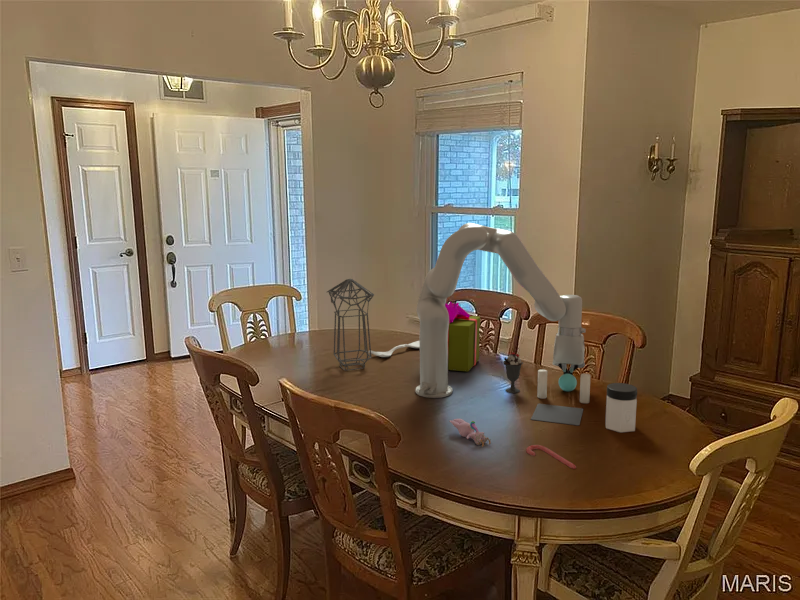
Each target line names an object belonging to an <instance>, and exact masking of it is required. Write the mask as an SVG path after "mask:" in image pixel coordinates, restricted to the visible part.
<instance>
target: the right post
mask: <svg viewBox="0 0 800 600" xmlns="http://www.w3.org/2000/svg"><path fill="white" fill-rule="evenodd" d="M579 380H580V381H579V382H580V383H579V385H580V386H579V403H581V404H589V403H590V397H591V395H590V393H591V392H590V391H591V374H589V373H580V379H579Z"/></svg>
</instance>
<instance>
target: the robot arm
mask: <svg viewBox="0 0 800 600" xmlns="http://www.w3.org/2000/svg"><path fill="white" fill-rule="evenodd" d="M474 251H481V252H482V251H483V252H488V253H492V254H493V253H494V254H498V255H499V257H500V259H501V261H502V262H503V263H504V265H505V266H506V268H507V269H508V270H509V272H510V273H511V275H512V277H513V278H514V279H515V281H516V282H517V283H518V284H519V285H520V286H521V287H522V288H523V289H524V290H525V291H526V292H527V293H528V294H529V295H530V296H531V297H532V298H533V300H534V304H533V305H534V306H533V307H534V309H535V311H536V312H537V314H539V315H540V316H542V317H544V318H546V320H548V321H550V322H557V321H558V326H557V327H558V330H557V333H556V334H555V337H554V342H553V343H554V345H553V355H552V356H553V359H552V365H553V366H556V367H558V368H560V370H561V371H562V372H563V374H571V375H573V376H574V372H575V371H576V370H577V369H582V368H585V364H586V363H585V336H584V334H583V333H586V328H584V327H582V318H583V317H582V316H583V315H582V314H583V298H582V297H581V296H579V295H577V294H563V295H561V294H559V293H558V290H557V289H556V288H555V286H554V285H553V284H552V282H551V281H550V280H549V279H548V278H547V276H546V275H545V274H544V272H543V271H542V270H541V269H540V267H539V265H538V264H537V263H536V261H535V260H534V258H533V257H532V255H531V254H530V253H529V251H528V249H527V248H526V246H525V244H524V243H523V242H522V240H521V239H520V237H519V236H518V234H516V233H515V232H514V231H510V230H507V229H502V228H497V227H490V226H488V225H487V226H486V225H481V224H477V223H473V222H467V223H464V224H462V225H461V226H460V227H459V229H458V230H456V231H455V232H453V233H452V234H450V236H448V237H447V238H446V240H444V242H443V244H442V246H441V249H440V251H439V254H438V257H437V259H436V261H435V266H434V267H433V268H431V269H429V271H428V272H427V274H426V275H425V278H424V280H423V283H422V287H421V290H420V294H419V296H418V297H419V298H418V301H417V304H416V315H417V318H418V319H419V340H418V341H419V345H420V349H419V385H417V386H416V387H415V390H414V391H415V394H417V395H418V396H420V397H422V398H427V399H429V398H430V399H441V398H446V397H448V396H451V394H453V387H452V386H450V385H449V373H448V372H449V370H448V328H449V314H448V311H447V309H446V307H445V303H447V299H448V298H450V297H451V296H452V295H453V294H454V293H455V292H456V290H457V286H458V281H459V278H460V275H461V271H462V268H463V265H464V262H465V260H466V258H467V257H468V255H470V254H471V253H472V252H474ZM567 365H570V367H569V368H568V367H567ZM563 374H562V375H563Z"/></svg>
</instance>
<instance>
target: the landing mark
mask: <svg viewBox="0 0 800 600" xmlns="http://www.w3.org/2000/svg"><path fill="white" fill-rule="evenodd" d="M583 413H584V408H582V407H581V408H580V407H573V406H565V405H564V406H563V405H555V404H547V403H546V404H545V403H537V405H536V407H535V409H534V412H533V414H532V415H531V417H530V421H538V422H546V423H553V424H554V423H555V424H561V425H562V424H563V425H571V426H580V424H581V422H582V421H581V420H582V416H583Z"/></svg>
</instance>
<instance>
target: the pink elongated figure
mask: <svg viewBox="0 0 800 600" xmlns="http://www.w3.org/2000/svg"><path fill="white" fill-rule="evenodd" d="M449 422H450V423H451V425H452V426H453V427H454V428H455V429H456V430H457V431H458V433H459V435H460V436H461V437H463V438H464V437H465V438H466V439H467V440H469V439H470V438H471V440H473V441H474V443H475V445H477V446H480V445H481V447H482V448H483V447H485V444H486V443H487V441H488V446H489V445H491V444H492V443H491V439H489V437H487V436H486V435H485V432H484V431H479V429H478V427H477V425H476V422H475V421H473V420H471V422H467V421H465V420H464V419H462V418H453V419H452V420H451V419H450V420H449Z"/></svg>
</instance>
